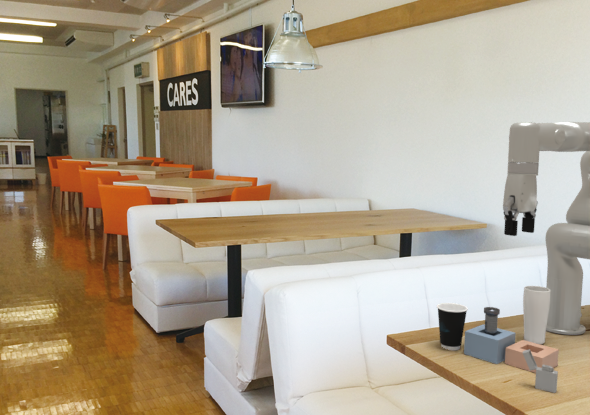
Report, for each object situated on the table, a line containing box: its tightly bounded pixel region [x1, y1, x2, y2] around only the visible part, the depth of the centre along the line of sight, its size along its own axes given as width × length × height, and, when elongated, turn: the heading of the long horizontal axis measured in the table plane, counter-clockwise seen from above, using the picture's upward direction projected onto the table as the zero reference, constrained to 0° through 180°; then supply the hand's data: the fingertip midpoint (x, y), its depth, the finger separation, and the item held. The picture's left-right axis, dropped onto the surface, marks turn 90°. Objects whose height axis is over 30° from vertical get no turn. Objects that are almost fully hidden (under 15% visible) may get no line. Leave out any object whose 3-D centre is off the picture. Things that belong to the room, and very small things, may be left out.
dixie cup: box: [436, 302, 469, 351], centre depth 143 cm, size 8×8×11 cm
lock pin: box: [483, 306, 501, 336], centre depth 138 cm, size 4×4×12 cm
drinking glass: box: [522, 285, 551, 345], centre depth 148 cm, size 7×7×15 cm
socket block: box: [463, 323, 516, 365], centre depth 138 cm, size 9×9×6 cm
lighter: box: [523, 349, 559, 394], centre depth 119 cm, size 7×2×8 cm, turn 56°
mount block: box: [504, 339, 560, 374], centre depth 132 cm, size 9×9×4 cm
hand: (519, 233), depth 144 cm, fingers open, 9 cm apart
